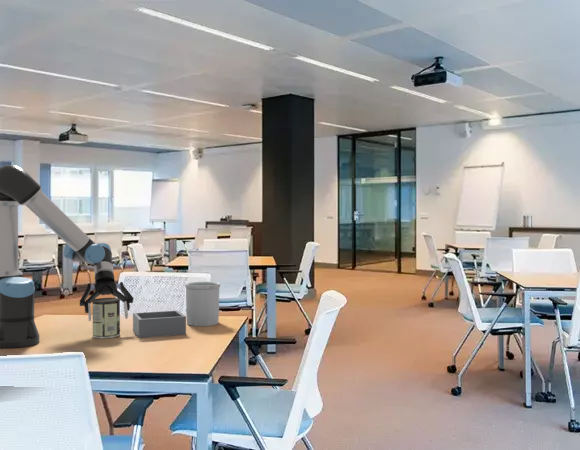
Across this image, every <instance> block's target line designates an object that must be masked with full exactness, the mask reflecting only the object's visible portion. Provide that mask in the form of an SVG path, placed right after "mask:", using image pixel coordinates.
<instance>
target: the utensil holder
mask: <svg viewBox="0 0 580 450" xmlns="http://www.w3.org/2000/svg"><path fill="white" fill-rule="evenodd" d="M220 288H221V283H220V282H218V281H203V280H202V281H190V282H186V283H185V303H186V304H185V307H186V308H185V310H186V313H185V314H186V315H185V316H186V325H189V326H191V327H192V326H193V327H211V326H216V325H218V324H219V321H220V320H219V319H220V317H219V316H220Z"/></svg>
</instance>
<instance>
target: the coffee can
mask: <svg viewBox="0 0 580 450" xmlns="http://www.w3.org/2000/svg"><path fill="white" fill-rule="evenodd" d="M91 304H92V338H94V339H113V338H116V337H117V338H118V337H120V336H121V300H120V299H119V298H117V297H102V298H101V297H99V298H95V299H94V300H92V302H91Z"/></svg>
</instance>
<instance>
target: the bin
mask: <svg viewBox="0 0 580 450" xmlns="http://www.w3.org/2000/svg"><path fill="white" fill-rule="evenodd" d="M132 331H133V333H135V335H136V336H137V338H138V339H144V338H145V339H146V338H155V337H157V338H158V337H159V338H160V337H168V336H181V335H186V334H187V315H184V314H183V313H181V312H180V311H179V310H162V311H161V310H160V311H147V312H143V311H142V312H133V313H132Z"/></svg>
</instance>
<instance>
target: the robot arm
mask: <svg viewBox="0 0 580 450" xmlns="http://www.w3.org/2000/svg"><path fill="white" fill-rule="evenodd" d="M42 189H43V188H42V186H41V185H40V183H38V182H37V181H36V180H35V179H34V178H33V177H32V176H31V174H29V173H28V172H27V171H26V170H25V169H23V168H22V167H20V166H18V165H15V164H6V165H2V166H0V349H10V348H11V349H13V348H15V349H16V348H23V347H29V346H35V345H37V344H38V343H40V333H39V331H38V328H37V324H36V322H35V292H36V287H35V282H34V280H33V279H31V278H29V277H24V273H23V271H21V270H20V269H19V216H18V215H19V211H18V209H19V206H20V205H21V206H25V207H27V208H28V209H29V210H30V211H31V212H32V213H33V214H35V216H37V218H38V219H39V220H41V221H42V222H43V223H44V224H45V225H46V226H47V227H48V228H49V229H50V230H51V231H52V232H54V234H56V235H57V237H59V238H60V239H61V240H62V241H63V242H64V243H65V245H64V248H63V251H62V252H63V257H64V258H65V259H67V260H70V261H76V262H81V263H86V264H90V265H93V272H94V283H95V284H91V282H90V283H87V287H86V290H85V291H84V293H83V294H82V297H81V298H80V300H79V306H80V307H83V308H84V313H85V314H87V317H88V322H91V321H92V309H91V304H92V300H94V299H97V298H98V297H99V296H100V295H101V296H105V295H112V296H114V297H115V298H119V299H120V302H122V303H123V309H124V318H125V319H126V320H127V319H128V317H129V313H128V311H130V308H131V305H130V304H133V303H134V296H132V294H131V293H130V292H129V290H128V289H127V288H126V286H125V285H124V282H123V281H120V282H119V283H116V281H115V274H114V266H113V265H114V264H113V254H112V249H111V246H110V245H109V244H108V243H106V242H97V243H95V241H93V240H92V239H91V238H90V237H89V236H88V235H87V234H86V233H85V232H84V231H83V230H82V229H81V228H80V227H79V226H78V225H77V224H76V223H75V222H74V221H73V220H71V218H70V217H69V216H67V214H66V213H65V212H64V211H62V209H60V208H59V206H58V205H56V204H55V202H53V201H52V200H51V199H50V197H48V196H47V195H46V194H45V193H44V192H43V191H42ZM93 290H94V291H93ZM119 290H120V291H119ZM91 291H93V292H92V294H91V295H90V293H91ZM89 295H90V296H89ZM88 296H89V297H88Z"/></svg>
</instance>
